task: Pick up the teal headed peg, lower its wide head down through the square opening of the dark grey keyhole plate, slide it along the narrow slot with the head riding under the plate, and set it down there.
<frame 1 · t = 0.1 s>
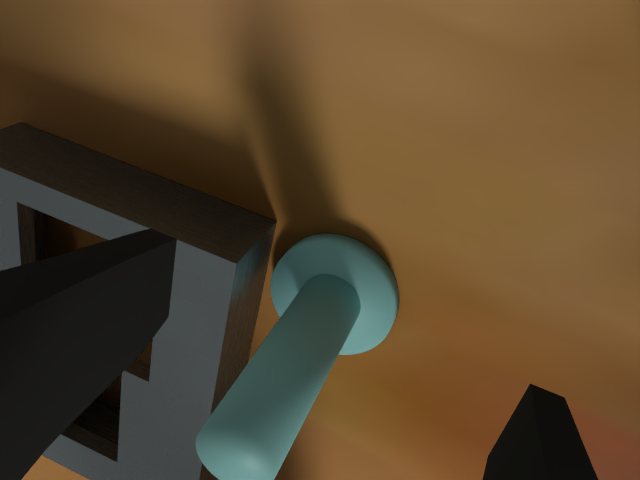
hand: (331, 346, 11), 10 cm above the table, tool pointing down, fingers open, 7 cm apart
keyhole plate: (133, 318, 28), on the table
peg: (337, 290, 23), on the table
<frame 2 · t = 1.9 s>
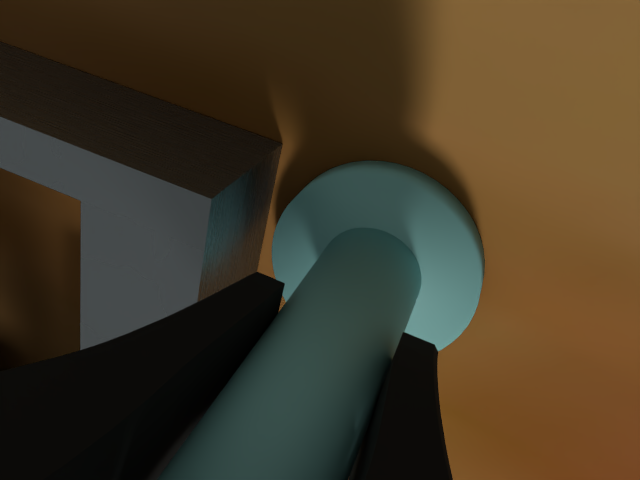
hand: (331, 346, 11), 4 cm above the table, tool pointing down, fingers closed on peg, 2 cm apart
keyhole plate: (70, 307, 19), on the table
peg: (379, 258, 14), on the table, touching gripper
when the fingers open (4 cm above the table, at t = 7.4 s): peg stays where it is, resting in keyhole plate.
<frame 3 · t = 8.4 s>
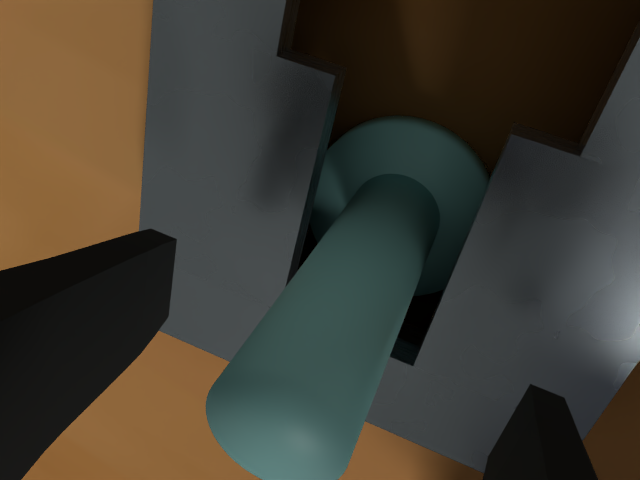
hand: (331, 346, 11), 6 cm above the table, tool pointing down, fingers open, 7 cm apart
keyhole plate: (439, 91, 15), on the table
peg: (401, 204, 16), resting in keyhole plate
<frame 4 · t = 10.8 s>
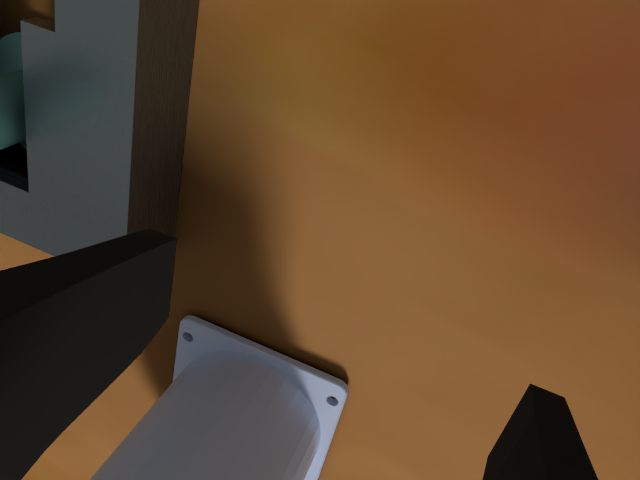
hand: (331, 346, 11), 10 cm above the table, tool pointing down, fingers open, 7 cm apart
keyhole plate: (51, 10, 22), on the table
peg: (53, 94, 24), resting in keyhole plate
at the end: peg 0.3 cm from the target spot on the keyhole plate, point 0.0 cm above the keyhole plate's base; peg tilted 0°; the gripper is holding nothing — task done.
